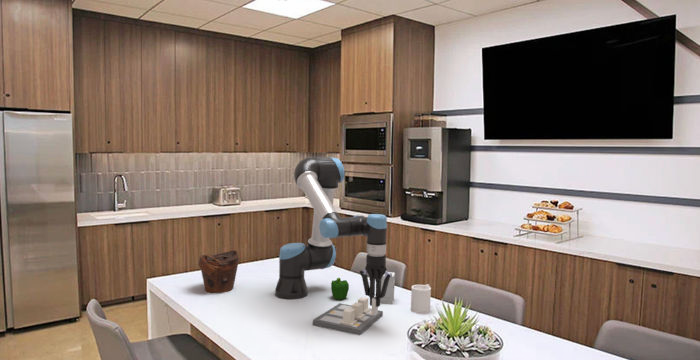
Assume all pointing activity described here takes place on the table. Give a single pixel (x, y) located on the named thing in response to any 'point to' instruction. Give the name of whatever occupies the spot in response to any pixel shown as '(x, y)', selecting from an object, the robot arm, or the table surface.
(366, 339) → the table surface
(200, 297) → the table surface
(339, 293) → the bell pepper
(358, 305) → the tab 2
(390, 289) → the supplement box
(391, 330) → the table surface
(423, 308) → the cup
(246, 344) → the table surface
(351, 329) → the switch bank
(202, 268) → the chocolate chip muffin
